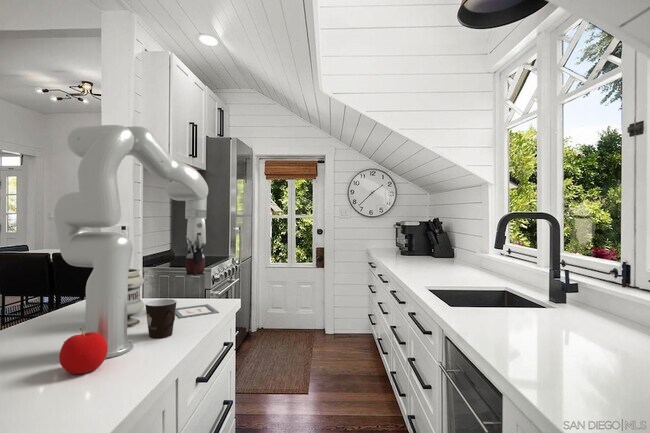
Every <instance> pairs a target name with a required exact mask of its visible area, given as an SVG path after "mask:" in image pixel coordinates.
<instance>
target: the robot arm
mask: <svg viewBox="0 0 650 433" xmlns="http://www.w3.org/2000/svg"><path fill="white" fill-rule="evenodd" d="M66 141H67V142H66V143H67V145H68V146H67V147H68V148H69V150H70V151H71V152H72V153H73V154H74V155H75V156H77V157H79V158H81V160H80V162H79V165H78V168H77V182H78V184H77V185H78V191H70V192H67V193H65V194H62V195H60V197H59V199H57V201H56V202H55V206H54V209H53V210H54V211H53V217H54V219H53V220H54V225H55V231H56V234H57V235H56V236H57V241H58V248H59V252H60V254H61V257H62V259H63V260H64V261H65V263H67V264H68V265H70V266H73V267H80V268H93V269H92V271H91V273H90V275H89V277H88V279H87V281H86V285H85V314H84V315H85V319H84V320H85V322H84V324H85V325H84V326H85V328H84V330H85V332H84V333H89V332H95V333H99V334H101V335H102V336H103V337H104V338H105V340H106V342H107V345H108V351H107V355H106V358H105V359H108V358H113V357H118V356H120V355H124V354H125V353H126V354H127V352H129V351H131V350H132V349H133V348H134V341H133V340H132V339H129V338H128V327H127V301H128V272H129V268H130V267H131V266H130V264H131V261H132V257H133V251H134V250H133V249H134V247H133V244H132V241H131V239H130V238H129V237H127V236H126V235H125V234H123V233H120V232H113V231H93V230H92V228H93V229H94V228H95V229H97V228H98V229H101V228H102V229H103V228H104V229H105V228H112V227H115V226H116V225H117V224H118V223H119V222H120V221H121V217H122V210H121V208H122V207H121V200H120V193H119V185H118V170H119V166H120V164H121V163H122V161H123V160H124V159H125V157H126V156H132V157H134V158H135V159H136V160H137V161H138V162H139V163H140V164H141V165H142V166H143V167H144V168H145V169H146V170H147V171H148V172H149V173H150V174H151V175H153V176H155V177H158V178H161V179H163V180H168V181H170V182H169V183H167V185H166V191H165V192H166V194H167V196H168V197H169V198H170V199H171V200H174V201H178V202H179V201H183V202H185V209H184V210H185V215H184V216H185V217H184V218H185V219H186V220H187V223H186V224H187V225H186V226H187V227H186V236H187V237H188V238H189V240H190V242H191V248H192V253H193V263H202V253H203V246H205V245H206V243H207V238H206V237H207V234H206V232H207V231H206V219H207V204H208V203H207V202H208V201H207V199H208V196H209V186H208V184H207V182H206V180H205V179H204V177H203V175H201V174H200V172H199V171H197V169H195V168H194V167H193V166H190V165H188V164H186V163H185V162H183V161H181V160H179V159H177V158H175V157H173V156H172V155H171V154H170V153H169V152H168V150H167V149H166V148H165V147H164V145H163V144H161V141H159V140H158V138H157V137H156V136H155V135H154V134H153V133H152V131H150V130H149V129H148V128H146V127H144V126H137V125H136V126H134V125H133V126H123V125H119V124H104V125H103V124H102V125H91V126H90V125H89V126H87V125H86V126H78V127H74V128H72V130H70V132H69V133H68V136H67V140H66ZM186 242H187V244H188V246H187V255H188V254H189V253H191V251H190V246H189V243H188V240H187V239H186ZM65 341H66V340H65ZM65 341H63V344H64V343H65Z"/></svg>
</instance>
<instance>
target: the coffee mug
mask: <svg viewBox="0 0 650 433" xmlns="http://www.w3.org/2000/svg"><path fill="white" fill-rule="evenodd" d="M144 303H145V304H144V307H145V313H146V324H147V330H148V338H149V339H152V340H161V339H167V338H169V337H171V336H173V331H174V323H175V319H176V314H175V310H176V308H177V303H178V302H177V300H176V299H172V298H162V299H161V298H160V299H154V300H149V301H147V302H144Z"/></svg>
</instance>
